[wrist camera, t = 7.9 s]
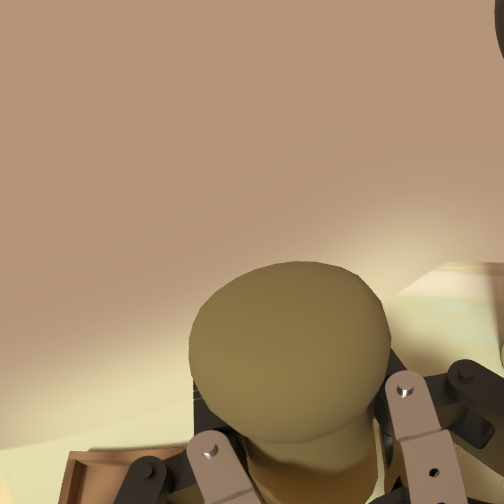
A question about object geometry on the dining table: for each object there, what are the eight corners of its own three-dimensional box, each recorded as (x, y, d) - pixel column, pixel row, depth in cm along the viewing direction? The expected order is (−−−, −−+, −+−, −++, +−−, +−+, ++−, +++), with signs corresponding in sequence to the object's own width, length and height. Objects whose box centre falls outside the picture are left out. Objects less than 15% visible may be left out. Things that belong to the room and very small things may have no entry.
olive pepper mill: (239, 453, 14) (150, 279, 9) (342, 409, 15) (325, 219, 10) (278, 546, 8) (160, 447, 4) (401, 487, 9) (470, 299, 5)
